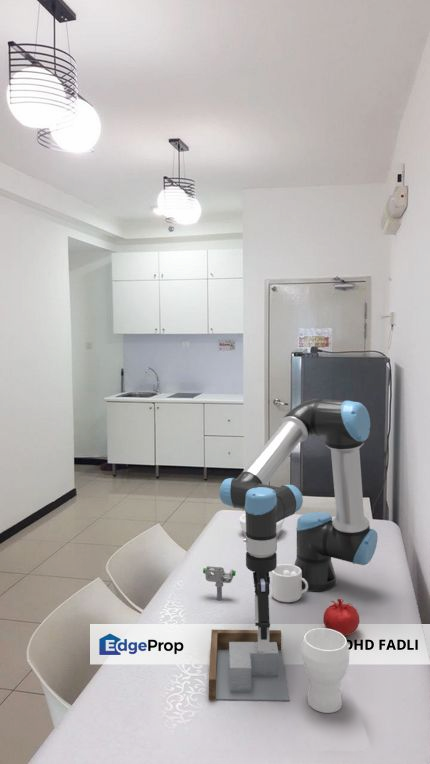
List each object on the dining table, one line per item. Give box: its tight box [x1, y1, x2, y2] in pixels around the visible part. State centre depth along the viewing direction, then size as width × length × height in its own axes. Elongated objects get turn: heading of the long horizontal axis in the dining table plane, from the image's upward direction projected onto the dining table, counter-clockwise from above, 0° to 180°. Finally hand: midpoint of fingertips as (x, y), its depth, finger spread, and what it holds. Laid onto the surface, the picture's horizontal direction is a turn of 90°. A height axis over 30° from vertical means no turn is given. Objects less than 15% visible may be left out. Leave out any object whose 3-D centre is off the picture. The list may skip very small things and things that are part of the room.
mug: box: [270, 563, 309, 603], centre depth 175 cm, size 12×10×9 cm
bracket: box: [229, 642, 279, 692], centre depth 133 cm, size 11×12×6 cm
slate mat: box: [215, 649, 291, 702], centre depth 135 cm, size 17×20×1 cm
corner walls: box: [208, 629, 282, 701], centre depth 136 cm, size 19×22×5 cm
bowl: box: [238, 513, 286, 538], centre depth 227 cm, size 18×18×9 cm
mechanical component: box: [202, 565, 236, 601], centre depth 174 cm, size 3×10×10 cm, turn 78°
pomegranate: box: [322, 598, 360, 637], centre depth 155 cm, size 10×10×9 cm
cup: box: [300, 627, 350, 714], centre depth 124 cm, size 11×11×15 cm
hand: (261, 634), depth 136 cm, fingers open, 13 cm apart
